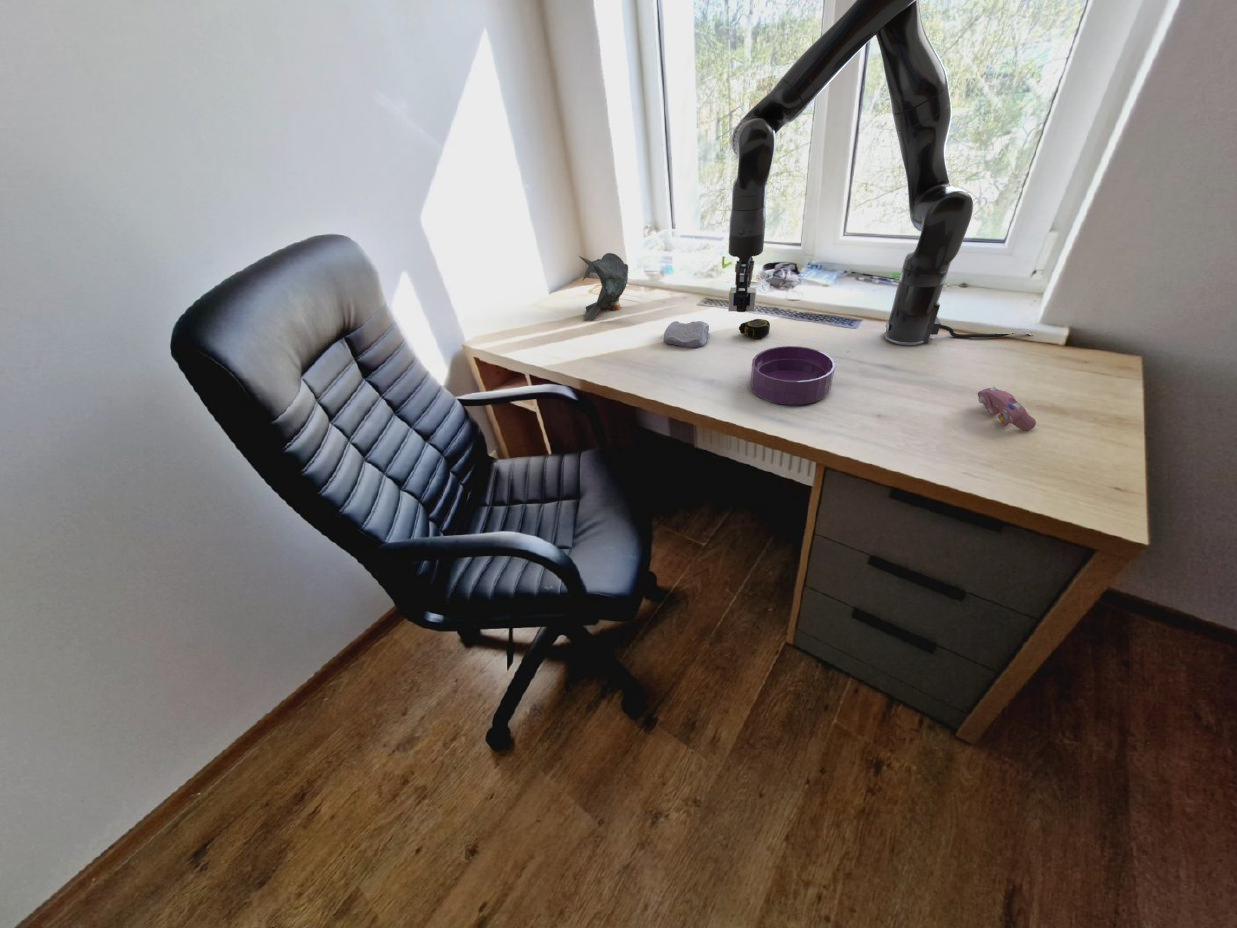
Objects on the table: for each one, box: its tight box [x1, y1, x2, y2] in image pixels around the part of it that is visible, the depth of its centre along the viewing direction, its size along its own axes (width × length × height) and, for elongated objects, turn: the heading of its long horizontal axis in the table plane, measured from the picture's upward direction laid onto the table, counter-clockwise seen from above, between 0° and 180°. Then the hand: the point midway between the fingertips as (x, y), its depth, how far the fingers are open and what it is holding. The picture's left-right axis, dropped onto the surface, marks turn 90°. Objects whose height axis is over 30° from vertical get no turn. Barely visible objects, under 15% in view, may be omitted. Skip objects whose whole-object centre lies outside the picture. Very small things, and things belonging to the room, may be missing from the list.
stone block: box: [663, 320, 710, 349], centre depth 130 cm, size 12×5×10 cm
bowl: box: [749, 345, 836, 406], centre depth 104 cm, size 17×17×6 cm
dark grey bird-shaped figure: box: [578, 252, 629, 322], centre depth 150 cm, size 14×15×18 cm
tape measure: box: [738, 318, 771, 339], centre depth 127 cm, size 7×7×4 cm
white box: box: [727, 286, 758, 313], centre depth 111 cm, size 6×4×4 cm, turn 73°
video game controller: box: [977, 386, 1037, 431], centre depth 87 cm, size 10×5×7 cm, turn 5°
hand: (742, 307), depth 112 cm, fingers closed on white box, 3 cm apart
